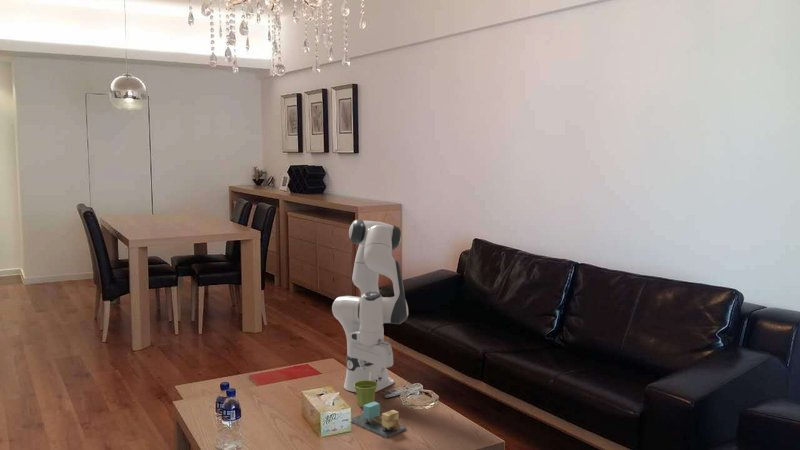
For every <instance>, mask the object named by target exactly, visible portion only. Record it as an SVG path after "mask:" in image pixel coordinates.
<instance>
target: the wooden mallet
mask: <svg viewBox="0 0 800 450" xmlns="http://www.w3.org/2000/svg"><path fill="white" fill-rule="evenodd" d="M361 415H362V416H363V410H362V411H361ZM399 417H400V416H399V411H397V410H395V409H392V410H388V411H386V412H383V413H381V415H379V416H377V417H374V418H371V420H374V421H376V422H378V423H381V424H382V426H383V427H385V431H387V428H392V429H395V430H399V429H401V425H402V424H400V423H399V422H400V421H399V419H400V418H399Z"/></svg>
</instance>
